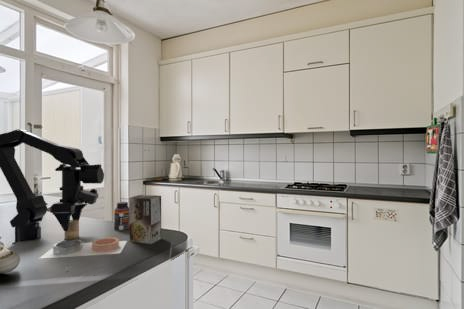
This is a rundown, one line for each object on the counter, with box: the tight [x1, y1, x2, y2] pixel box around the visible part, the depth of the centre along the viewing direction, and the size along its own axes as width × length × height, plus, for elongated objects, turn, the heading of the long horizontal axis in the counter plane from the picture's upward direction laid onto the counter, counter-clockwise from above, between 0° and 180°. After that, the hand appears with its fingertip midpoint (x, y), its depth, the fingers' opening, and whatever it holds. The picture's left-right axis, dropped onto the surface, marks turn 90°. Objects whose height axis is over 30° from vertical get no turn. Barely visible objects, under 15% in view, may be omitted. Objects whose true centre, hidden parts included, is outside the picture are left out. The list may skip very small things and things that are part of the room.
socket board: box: [38, 240, 128, 260], centre depth 86 cm, size 22×12×1 cm, turn 101°
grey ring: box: [52, 239, 83, 255], centre depth 85 cm, size 8×8×2 cm
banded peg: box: [63, 219, 80, 241], centre depth 97 cm, size 5×5×7 cm
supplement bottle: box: [113, 201, 130, 232], centre depth 110 cm, size 6×6×11 cm
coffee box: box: [128, 194, 162, 245], centre depth 95 cm, size 9×6×16 cm
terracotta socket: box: [91, 237, 120, 252], centre depth 87 cm, size 8×8×2 cm
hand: (71, 227), depth 97 cm, fingers open, 9 cm apart
